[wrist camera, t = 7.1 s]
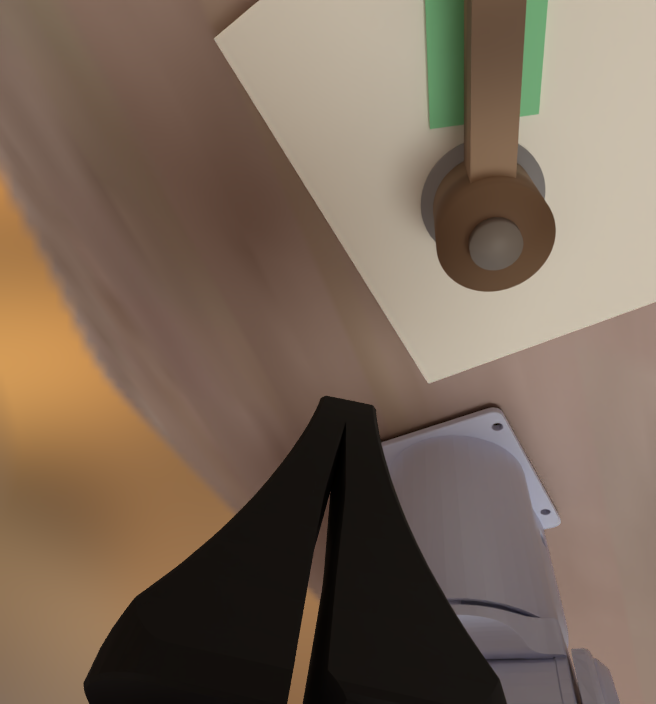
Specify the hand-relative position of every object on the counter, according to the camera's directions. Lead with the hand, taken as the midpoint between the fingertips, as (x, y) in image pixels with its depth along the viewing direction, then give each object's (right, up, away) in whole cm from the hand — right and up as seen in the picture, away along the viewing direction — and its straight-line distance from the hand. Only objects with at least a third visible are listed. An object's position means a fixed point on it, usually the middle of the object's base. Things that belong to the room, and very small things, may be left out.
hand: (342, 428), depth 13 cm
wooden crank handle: (+4, +10, +1) cm, 11 cm away
